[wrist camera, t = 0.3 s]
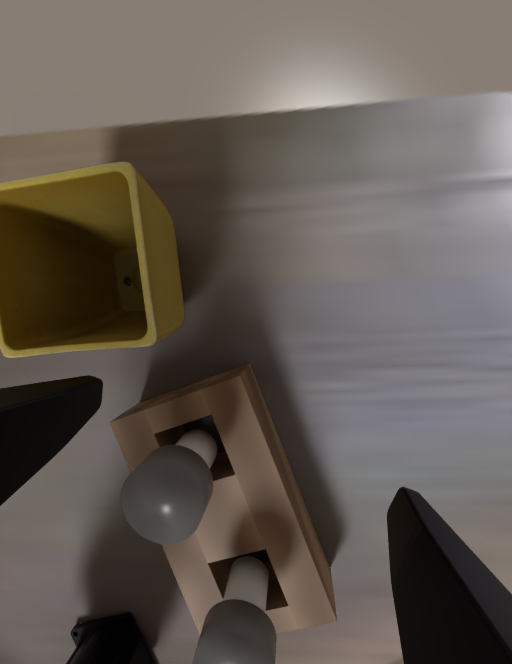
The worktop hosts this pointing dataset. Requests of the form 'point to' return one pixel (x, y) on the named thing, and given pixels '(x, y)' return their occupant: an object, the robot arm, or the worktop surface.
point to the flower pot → (86, 263)
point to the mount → (237, 501)
